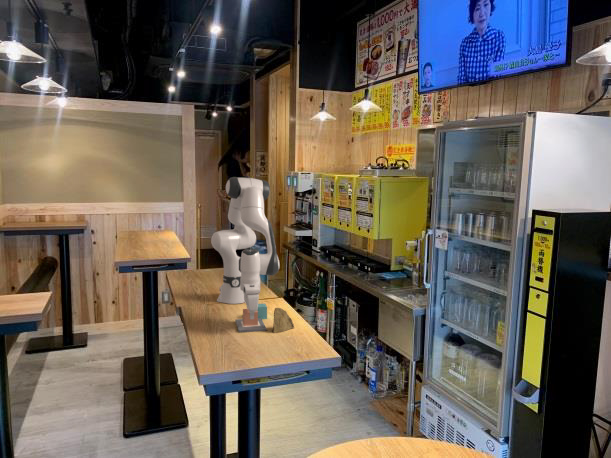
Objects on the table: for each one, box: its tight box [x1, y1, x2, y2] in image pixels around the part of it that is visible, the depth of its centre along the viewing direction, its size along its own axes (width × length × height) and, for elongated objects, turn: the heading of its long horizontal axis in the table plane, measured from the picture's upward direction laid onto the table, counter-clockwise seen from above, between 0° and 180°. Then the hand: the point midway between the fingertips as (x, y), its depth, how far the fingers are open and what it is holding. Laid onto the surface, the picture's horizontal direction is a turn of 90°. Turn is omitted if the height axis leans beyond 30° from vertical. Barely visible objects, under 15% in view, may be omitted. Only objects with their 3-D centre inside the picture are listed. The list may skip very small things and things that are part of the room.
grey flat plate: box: [235, 318, 267, 334], centre depth 207 cm, size 16×12×1 cm
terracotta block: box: [242, 308, 258, 326], centre depth 207 cm, size 6×6×6 cm
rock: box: [272, 307, 295, 334], centre depth 202 cm, size 11×9×10 cm
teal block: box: [257, 303, 268, 320], centre depth 220 cm, size 6×6×6 cm
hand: (250, 315), depth 207 cm, fingers open, 8 cm apart
